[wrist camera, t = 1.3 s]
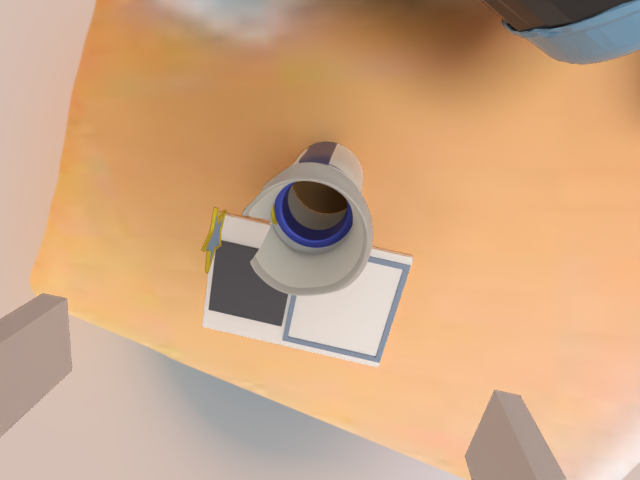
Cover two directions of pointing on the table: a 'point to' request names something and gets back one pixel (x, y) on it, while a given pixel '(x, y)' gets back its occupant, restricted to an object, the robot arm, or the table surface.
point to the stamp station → (302, 300)
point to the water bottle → (308, 226)
